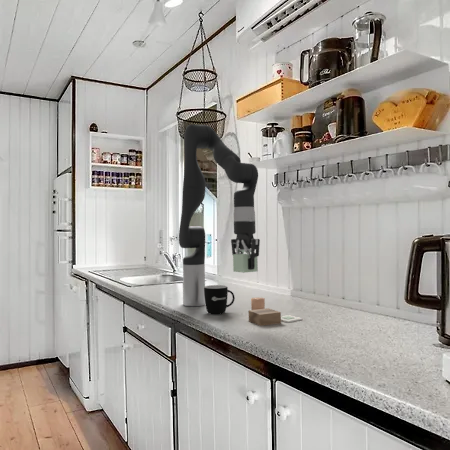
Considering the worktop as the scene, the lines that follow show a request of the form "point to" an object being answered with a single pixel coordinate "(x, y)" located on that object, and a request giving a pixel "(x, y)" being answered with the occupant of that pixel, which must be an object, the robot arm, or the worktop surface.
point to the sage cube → (242, 263)
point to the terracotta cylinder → (257, 303)
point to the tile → (290, 318)
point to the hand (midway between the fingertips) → (245, 268)
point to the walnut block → (264, 317)
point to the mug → (217, 299)
